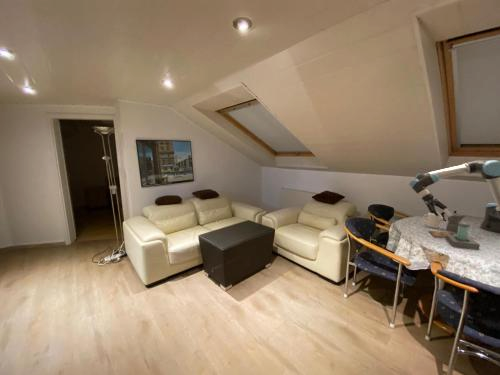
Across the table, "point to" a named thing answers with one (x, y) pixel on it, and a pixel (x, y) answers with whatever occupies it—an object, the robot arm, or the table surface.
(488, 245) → the table surface
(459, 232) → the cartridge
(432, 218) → the mug
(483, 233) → the table surface
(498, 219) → the robot arm
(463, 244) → the housing
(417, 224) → the table surface
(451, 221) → the coffeepot
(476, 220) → the table surface
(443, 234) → the pad
